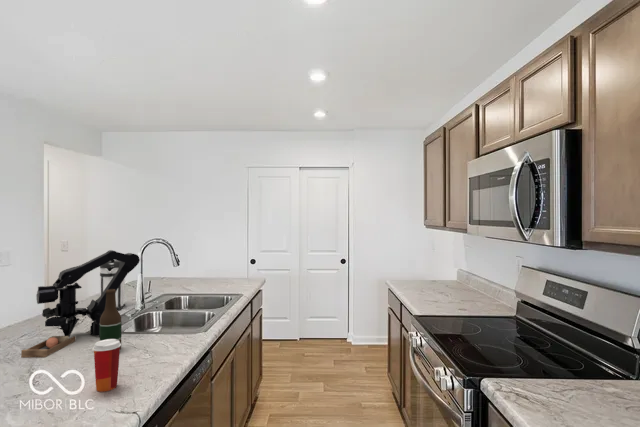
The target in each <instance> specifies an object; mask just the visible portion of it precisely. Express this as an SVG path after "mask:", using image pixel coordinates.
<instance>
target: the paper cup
mask: <svg viewBox="0 0 640 427" xmlns="http://www.w3.org/2000/svg"><path fill="white" fill-rule="evenodd" d="M120 346H121V347H122V342H121V343H120V341H119V340H117V339H106V340H102V341H96V342H95V343H94V345H93V347H92V349H91V350H92V351H93V357H94V359H93V360H94V362H93V363H94V373H95V374H94V377H95V390H96V391H97V392H98V393H99V392H100V393H105V392H109V391H110V392H111V391H112V390H114V389H116V388H117V386H118V378H119V366H120Z"/></svg>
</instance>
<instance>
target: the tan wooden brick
mask: <svg viewBox="0 0 640 427" xmlns="http://www.w3.org/2000/svg"><path fill="white" fill-rule="evenodd" d="M51 337H55V338H57V339H58V344H60V343H62V342H64V341H66V340H68V339H70V336H65V335H52V336H50V337H49V338H51Z"/></svg>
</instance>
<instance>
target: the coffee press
mask: <svg viewBox="0 0 640 427" xmlns="http://www.w3.org/2000/svg"><path fill="white" fill-rule="evenodd" d="M120 262H121V261H118V260H111V261H109V262H107V263H105V264H103V265H101V266H99V269H100V272H99V278H100V280H99V285H100V286H99V287H100V288H99V294H100V296H101V294H102V293H103V291H104V290H105V288H106V287H107V285H108V284H109V282H110V281H111V279H112V278H113V276H114V275H115V273H116V272H117V271H118V268H119V264H120ZM125 279H126V277H125V278H124V280H123V281H122V283H121V285H120V286H119V288H118V289H117V291H116V293H115V296H116V308H117V311H118V312H119V311H122V310H123V307H126V304H125ZM100 296H99V297H100Z"/></svg>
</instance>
